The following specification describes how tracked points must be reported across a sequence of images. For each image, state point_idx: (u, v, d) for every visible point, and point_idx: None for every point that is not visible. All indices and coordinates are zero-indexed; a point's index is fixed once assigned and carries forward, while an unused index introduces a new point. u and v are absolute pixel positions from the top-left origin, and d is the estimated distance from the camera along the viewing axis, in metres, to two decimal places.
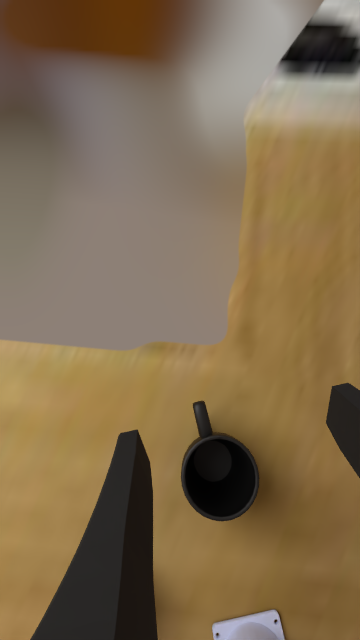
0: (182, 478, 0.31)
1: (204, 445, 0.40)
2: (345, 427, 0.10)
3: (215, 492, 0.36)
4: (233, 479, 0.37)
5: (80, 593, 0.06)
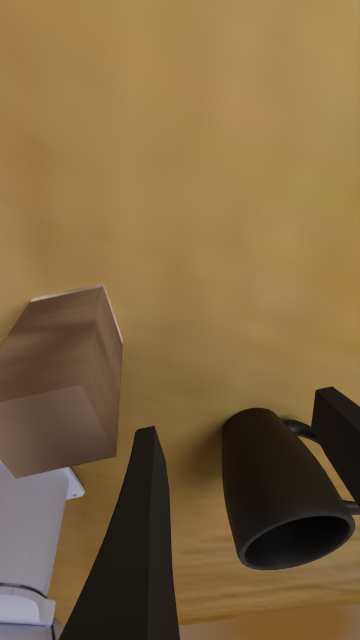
0: (309, 515, 0.18)
1: None
2: (328, 431, 0.10)
3: None
4: None
5: (108, 586, 0.06)
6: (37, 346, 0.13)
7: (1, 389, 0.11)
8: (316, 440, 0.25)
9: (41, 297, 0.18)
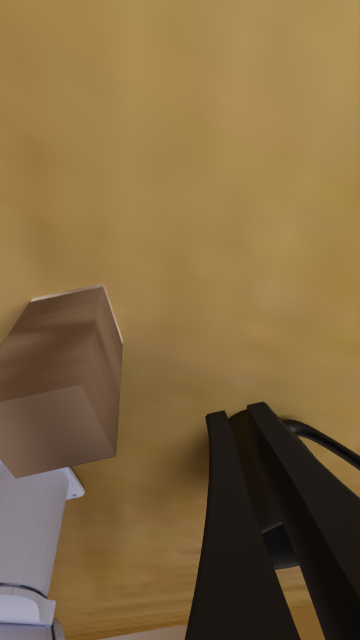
0: None
1: None
2: (257, 447, 0.10)
3: None
4: None
5: (228, 558, 0.06)
6: (37, 346, 0.13)
7: (1, 389, 0.11)
8: (316, 440, 0.25)
9: (41, 297, 0.18)
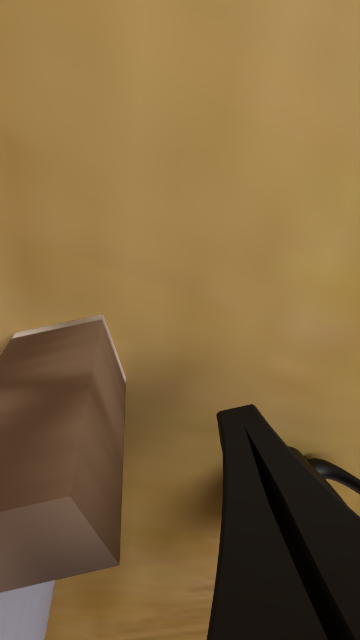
0: None
1: None
2: None
3: None
4: None
5: (247, 553, 0.06)
6: (14, 415, 0.10)
7: None
8: (349, 485, 0.22)
9: (26, 332, 0.15)
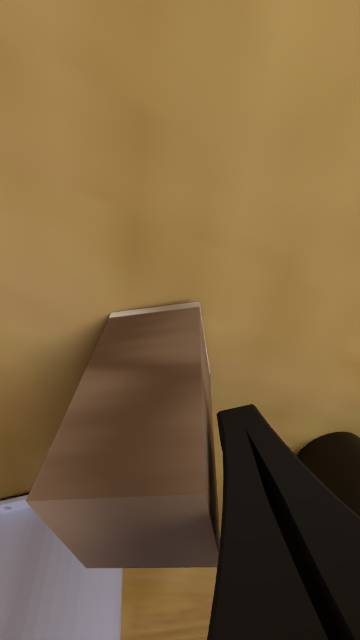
0: None
1: None
2: None
3: None
4: None
5: (247, 553, 0.06)
6: (126, 396, 0.10)
7: (82, 470, 0.08)
8: None
9: (122, 313, 0.15)
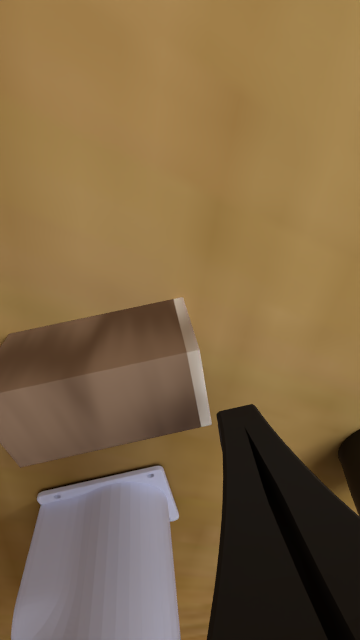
0: None
1: None
2: None
3: None
4: None
5: (247, 553, 0.06)
6: (63, 343, 0.13)
7: (14, 345, 0.14)
8: None
9: (180, 303, 0.14)
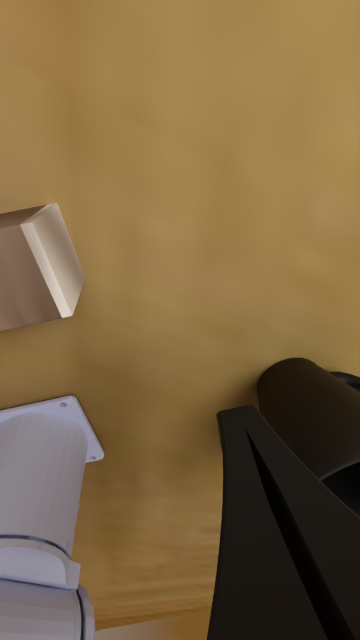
0: None
1: None
2: None
3: None
4: None
5: (247, 553, 0.06)
6: None
7: None
8: None
9: (50, 205, 0.15)
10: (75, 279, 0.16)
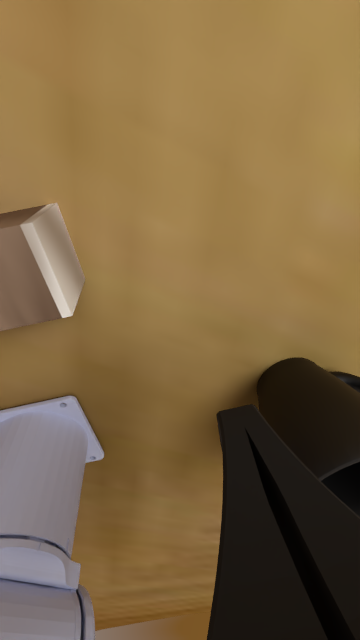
0: None
1: None
2: None
3: None
4: None
5: (247, 553, 0.06)
6: None
7: None
8: None
9: (50, 205, 0.15)
10: (75, 279, 0.16)
